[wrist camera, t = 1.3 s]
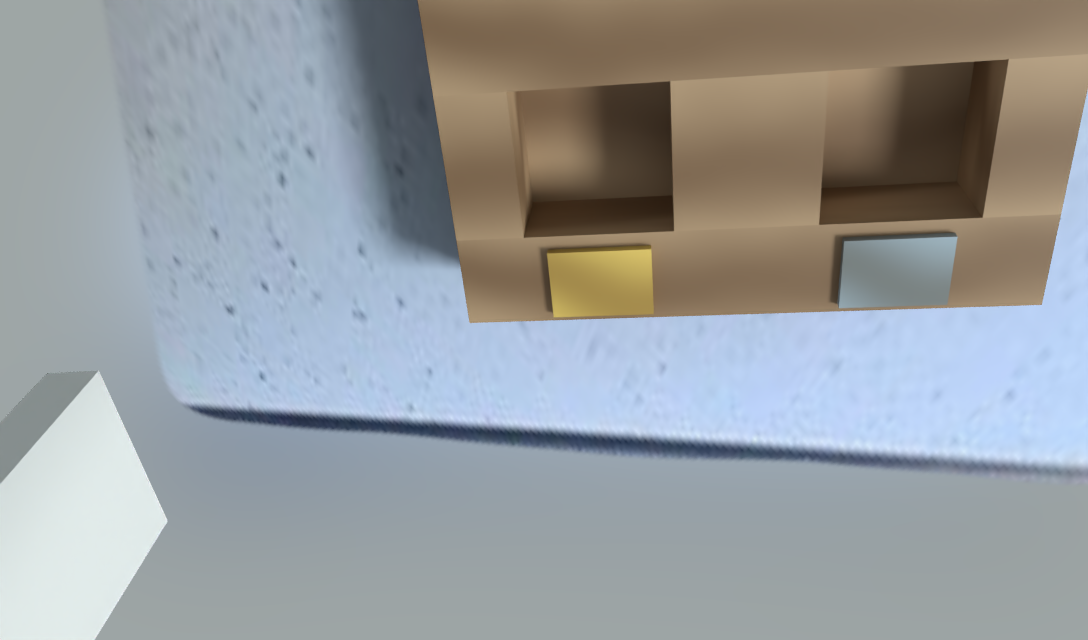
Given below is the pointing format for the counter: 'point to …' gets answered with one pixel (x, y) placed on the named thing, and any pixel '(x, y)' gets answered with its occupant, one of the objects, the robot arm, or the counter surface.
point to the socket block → (754, 152)
